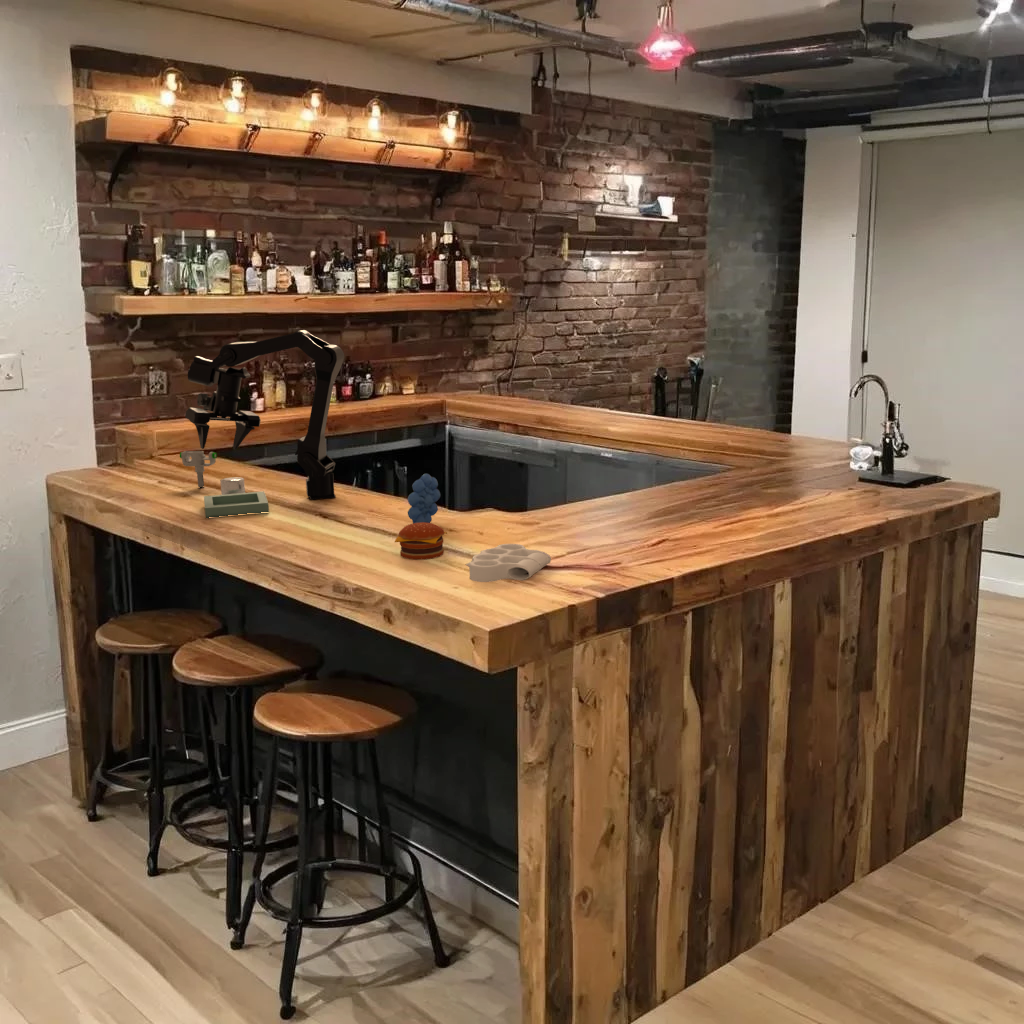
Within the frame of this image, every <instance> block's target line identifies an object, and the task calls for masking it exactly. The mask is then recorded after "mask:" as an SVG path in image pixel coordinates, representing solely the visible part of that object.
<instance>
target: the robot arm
mask: <svg viewBox="0 0 1024 1024" xmlns="http://www.w3.org/2000/svg"><path fill="white" fill-rule="evenodd" d="M294 348H299V349H300V350H301V351H302V352H303V353H304V354H305V355H307V356H308V357H309V358H310V359H312V360H314V373H315V378H316V383H315V387H314V391H313V392H314V393H313V399H312V405H311V408H310V409H311V410H310V415H309V421H308V428H307V432H306V435H305V436H302V437H301V438H298V439H297V447H296V451H295V453H294V455H295V456H296V461H297V464H298V465H299V466H300V467H301V468H302V469H303V471H304V473H305V476H306V477H307V478H306V479H305V488H306V489H305V490H306V496H307V497H310V498H309V499H310V500H321V499H320V498H323V499H333V498H336V494H335V485H334V484H335V483H334V472H333V471H334V470H335V466H336V462H335V461H334V460H333V459H332V458H331V457H330V456H329V455H327V443H326V436H325V435H326V434H325V433H326V427H327V422H328V415H329V410H330V404H331V399H332V393H333V388H334V385H335V383H334V382H335V381H336V378H337V376H338V374H339V373H340V371H341V368H342V365H343V362H344V360H345V354H344V351H343V349H342V347H340V346H339V345H336V344H330V343H328V342H327V341H325V340H323V339H322V338H319V337H316V336H315V335H313V334H311V333H310V332H309V331H308V330H305V329H303V330H296V331H295V332H293V333H289V334H284V335H280V336H276V337H272V338H267V339H263V340H260V341H259V340H258V341H236V342H231V343H227V344H224V345H223V346H222V347H221V348H220V350H219V354H218V355H217V356H216V357H214V358H213V359H207V358H204V357H202V356H199V355H196V356H194V357H193V361H192V363H190V366H189V369H188V370H187V379H188V382H191V383H194V384H197V385H198V384H199V385H203V386H205V387H213V386H214V384H215V385H216V389H215V390H216V391H213V393H212V396H209V395H208V393H201V392H200V393H198V395H197V401H196V402H197V406H198V407H188V409H187V410H186V411H185V417H184V418H185V419H187V420H188V421H189V422H190V423H192V424H193V425H194V426H195V428H196V431H197V434H198V435H197V436H198V440H199V441H198V442H199V446H200V449H205V447H206V444H207V439H208V435H209V431H210V425H209V422H210V421H222V422H223V421H224V422H235V433H234V438H233V443H232V449H233V450H234V451H236V450H238V448H239V446H241V443H242V442H243V440H245V439H246V437H247V436H248V435H249V434H250V432H251V431H252V430H255V429H256V428H259V427H260V426H261V422H262V421H261V416H259V415H258V414H257V413H255V412H253V411H250V410H238V412H237V408H238V403H241V400H242V398H241V397H240V390H241V387H242V386H241V384H242V379H248V378H251V374H250V372H248V370H247V368H246V367H241V368H240V369H239V368H235V366H239V365H244V364H246V363H248V362H250V361H252V360H254V359H256V358H259V357H261V356H265V355H269V354H273V353H277V352H280V351H285V350H290V349H294ZM222 367H228V368H226V369H225V368H222ZM202 407H203V408H202ZM208 411H210V412H208Z"/></svg>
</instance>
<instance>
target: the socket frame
mask: <svg viewBox="0 0 1024 1024" xmlns="http://www.w3.org/2000/svg"><path fill="white" fill-rule="evenodd" d="M203 502H204V503H203V504H204V512H205V513H204V515H205V519H206V518H208V519H210V518H209V517H219V516H228V515H238V514H247V513H261V512H269V513H270V509H269V507H270V506H269V501H268V499H267V496H266V493H265V491H264V490H262V491H251V492H245V493H236V494H224V495H222V494H215V495H204V496H203ZM219 518H220V517H219Z"/></svg>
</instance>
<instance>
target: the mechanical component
mask: <svg viewBox="0 0 1024 1024" xmlns="http://www.w3.org/2000/svg"><path fill="white" fill-rule="evenodd" d="M204 452H205V451H203V450H185V451H181V452H179V458H180V459H181V461H182V465H183V466H185V467H194V472H195V473H196V479H197V488H198V487H203V486H204V487H205V481H204V472H205V467H210V466H212V465H215V463H216V460H217V458H218V454H217V452H215V451H210V452H209V453H208V456H206V454H204ZM205 461H209V463H207V462H205ZM204 487H203V488H204Z"/></svg>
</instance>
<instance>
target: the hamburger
mask: <svg viewBox="0 0 1024 1024" xmlns="http://www.w3.org/2000/svg"><path fill="white" fill-rule="evenodd" d="M445 534H447V535H448V532H446V531H445V530H444V529H443V528H442V527H441V526H439V525H437V524H436V523H432V522H430V523H426V522H420V523H413V522H412V523H410V524H407V525H404V527H402V528H401V530H399V532H398V535H397V537H396V538H395V540H394V543H399V545H400V551H399V553H400V557H402V558H404V559H408V560H415V561H418V560H419V561H420V560H421V561H424V560H425V561H426V560H431V559H436V558H440V557H442V556H443V555H444V553H445V548H444V545H443V544H444V541H445V538H444V537H443V536H444V535H445Z"/></svg>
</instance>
